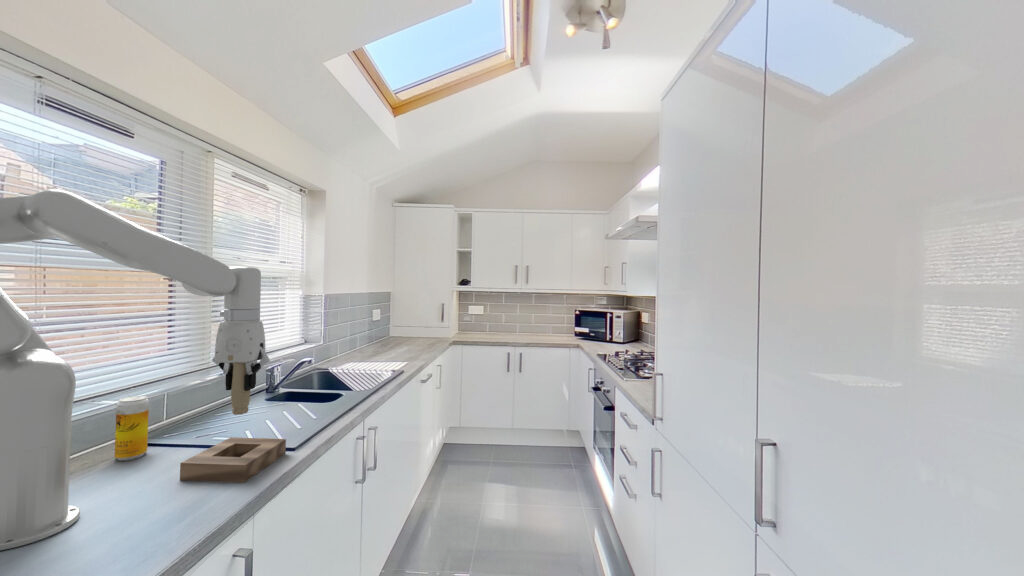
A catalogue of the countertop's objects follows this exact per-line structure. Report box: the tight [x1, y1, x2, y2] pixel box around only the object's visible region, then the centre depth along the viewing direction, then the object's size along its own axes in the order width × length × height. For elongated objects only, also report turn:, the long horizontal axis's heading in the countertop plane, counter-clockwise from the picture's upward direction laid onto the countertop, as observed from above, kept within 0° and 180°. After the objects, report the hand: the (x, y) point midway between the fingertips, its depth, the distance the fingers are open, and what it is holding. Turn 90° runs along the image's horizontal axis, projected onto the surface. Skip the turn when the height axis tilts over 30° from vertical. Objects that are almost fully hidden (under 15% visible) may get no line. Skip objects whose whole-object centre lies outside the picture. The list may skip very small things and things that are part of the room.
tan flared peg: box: [228, 355, 251, 416], centre depth 99 cm, size 5×6×15 cm
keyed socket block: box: [179, 436, 287, 483], centre depth 98 cm, size 16×15×4 cm
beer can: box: [114, 395, 150, 461], centre depth 102 cm, size 6×6×15 cm
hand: (240, 388), depth 99 cm, fingers closed on tan flared peg, 3 cm apart
